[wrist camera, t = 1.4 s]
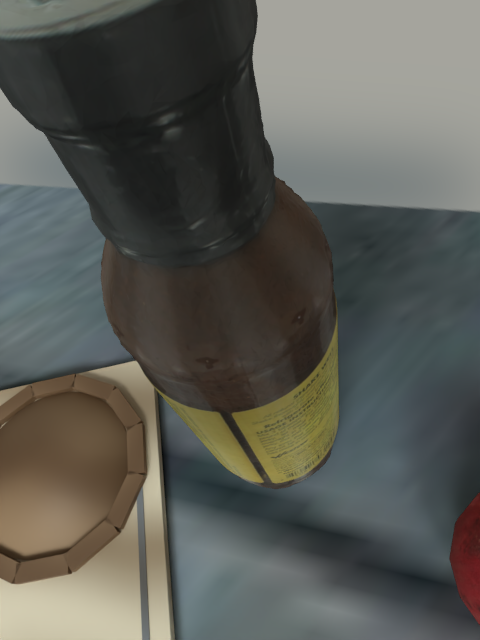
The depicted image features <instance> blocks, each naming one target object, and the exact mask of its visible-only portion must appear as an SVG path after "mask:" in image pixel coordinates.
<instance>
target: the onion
mask: <svg viewBox="0 0 480 640" xmlns="http://www.w3.org/2000/svg"><path fill="white" fill-rule="evenodd" d="M450 562H451V566H452V569H453V573H454V577H455V580H456V584H457V588H458V591H459V595H460V598H461V599H462V601H463V602H464V603H465V605H466V606H467V608H468V609H469V610H470V612H471V613H472V615H473V616H474V618H475V619H476V620H477V622H478V623H479V625H480V493H478V494H477V496H476V497H475V498H474V499H473V501H472V502H471V503H470V504H469V506H468V507H467V508H466V509H465V510H464V512H463V513H462V514H461V515H460V517H459V518H458V519H457V521H456V523H455V528H454V534H453V540H452V546H451V552H450Z"/></svg>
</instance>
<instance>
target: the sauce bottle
mask: <svg viewBox="0 0 480 640" xmlns="http://www.w3.org/2000/svg"><path fill="white" fill-rule="evenodd" d="M257 17H258V15H257V6H256V0H0V88H1V90H2V91H3V93H4V94H5V96H6V97H7V99H8V100H9V102H10V103H11V104H12V106H13V107H14V108H15V109H17V110H18V111H19V112H20V113H21V114H22V115H23V116H24V117H25V118H26V120H28V122H29V123H31V124H32V125H33V126H34V127H35V128H36V129H38V130H40V131H42V132H43V133H44V134H45V135H46V137H47V139H48V140H49V142H50V144H51V145H52V147H53V148H54V150H55V152H56V153H57V155H58V157H59V158H60V160H61V161H62V163H63V165H64V166H65V168H66V170H67V171H68V173H69V174H70V176H71V177H72V179H73V180H74V182H75V183H76V185H77V186H78V188H79V190H80V191H81V193H82V194H83V196H84V197H85V199H86V200H87V202H88V203H89V206H90V211H91V217H92V220H93V222H94V223H95V224H96V226H97V227H98V229H99V230H100V231H101V233H102V234H103V235H104V236H105V237H106V241H105V245H104V250H103V257H102V262H101V266H102V270H101V282H102V291H103V300H104V306H105V310H106V313H107V316H108V321H109V322H110V324H111V326H112V328H113V331H114V333H115V334H116V336H117V337H118V338H119V340H120V342H121V345H122V346H123V347H124V348H125V349H126V350H127V351H128V352H129V353H130V354H131V355H132V356H133V358H134V359H135V360H136V361H137V362H138V364H139V366H140V367H141V369H142V371H143V373H144V374H145V376H146V378H147V379H148V380H149V381H150V383H151V384H152V385H153V386H154V388H155V389H156V390H157V391H158V392H159V393H160V395H161V396H162V397H163V398H164V399H165V400H166V401H167V402H168V404H169V405H170V406H171V407H172V408H173V409H174V410H175V412H176V413H177V414H178V415H179V416H180V417H181V418H182V419H183V421H184V422H185V423H186V424H187V425H188V426H189V427H190V429H191V430H192V431H193V432H194V433H195V434H196V435H197V437H198V438H199V439H200V440H201V441H202V442H203V444H204V445H205V446H206V447H207V448H208V449H209V450H210V451H211V453H212V454H213V455H214V456H215V457H216V458H217V459H218V460H219V462H220V463H221V464H222V465H223V466H225V467H226V468H227V469H228V470H229V471H230V472H232V473H233V474H236V475H238V476H239V477H240V478H241V479H243V480H245V481H247V482H250V483H252V484H256V485H258V486H263V487H267V488H272V489H279V488H286V487H289V486H291V485H293V484H296V483H299V482H301V481H303V480H305V479H306V478H308V477H309V476H311V475H313V474H314V473H315V472H316V471H317V470H319V469H320V468H321V467H322V466H323V465H324V464H325V463H326V461H327V459H328V458H329V457H330V454H331V449H332V446H333V443H334V439H335V436H336V433H337V428H338V421H339V392H338V326H337V303H336V297H335V293H334V289H333V281H334V279H333V264H332V252H331V250H330V247H329V244H328V242H327V239H326V237H325V234H324V232H323V230H322V227H321V224H320V222H319V220H318V219H317V217H316V216H315V215H314V214H313V212H312V210H311V209H310V208H309V207H308V206H307V204H306V203H305V202H304V201H303V200H302V198H301V197H300V196H299V195H297V194H296V193H294V191H293V190H292V189H291V188H290V187H288V186H287V185H286V184H285V182H284V181H282V180H280V179H279V178H277V177H275V175H274V170H273V169H274V158H273V154H272V151H271V148H270V145H269V144H268V141H267V140H266V139H265V137H264V131H263V123H262V119H261V110H260V104H259V97H258V92H257V87H256V82H255V76H254V71H253V61H252V55H253V44H254V39H255V35H256V28H257Z"/></svg>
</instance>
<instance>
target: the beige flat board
mask: <svg viewBox="0 0 480 640" xmlns="http://www.w3.org/2000/svg"><path fill="white" fill-rule="evenodd" d="M0 640H175V633H174V619H173V604H172V590H171V576H170V562H169V548H168V534H167V520H166V506H165V491H164V477H163V463H162V449H161V435H160V421H159V407H158V392H157V390H156V389H155V388H154V386H153V385H152V384H151V383H150V381H149V380H148V379H147V378H146V376H145V374H144V373H143V371H142V369H141V367H140V366H139V364H138V362H137V361H132V362H128V363H123V364H119V365H114V366H110V367H105V368H101V369H96V370H92V371H87V372H83V373H78V374H71V375H67V376H62V377H58V378H53V379H49V380H44V381H40V382H35V383H32V384H29V385H24V386H20V387H15V388H11V389H6V390H2V391H0Z"/></svg>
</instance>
